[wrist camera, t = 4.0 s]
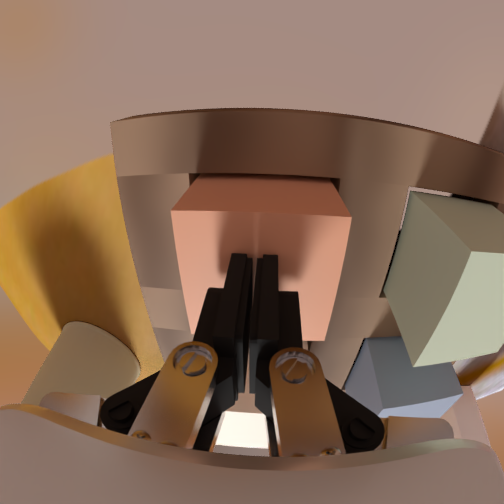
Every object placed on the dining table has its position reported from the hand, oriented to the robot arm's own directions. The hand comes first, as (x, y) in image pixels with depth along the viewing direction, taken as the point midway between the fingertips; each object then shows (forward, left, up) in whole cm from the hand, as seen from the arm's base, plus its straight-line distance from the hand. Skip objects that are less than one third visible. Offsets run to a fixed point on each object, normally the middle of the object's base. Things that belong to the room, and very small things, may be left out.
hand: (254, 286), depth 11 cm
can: (+16, +15, -6) cm, 23 cm away
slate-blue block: (-10, +10, -4) cm, 15 cm away
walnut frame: (-5, +5, -6) cm, 9 cm away
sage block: (-10, 0, -4) cm, 11 cm away
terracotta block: (0, 0, -6) cm, 6 cm away
